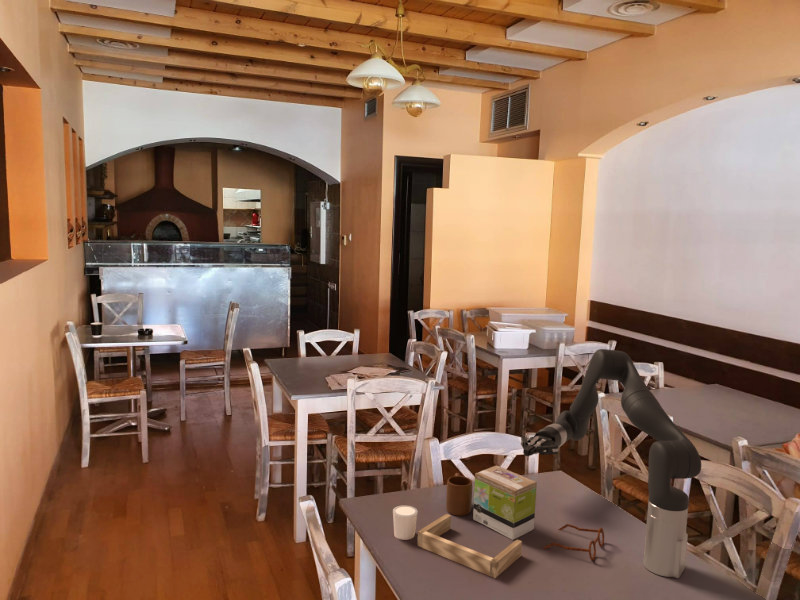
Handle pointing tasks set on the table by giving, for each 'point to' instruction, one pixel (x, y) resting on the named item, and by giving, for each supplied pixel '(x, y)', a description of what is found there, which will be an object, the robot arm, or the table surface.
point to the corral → (466, 549)
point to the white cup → (404, 522)
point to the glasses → (589, 544)
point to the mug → (459, 495)
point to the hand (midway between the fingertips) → (526, 452)
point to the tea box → (504, 501)
